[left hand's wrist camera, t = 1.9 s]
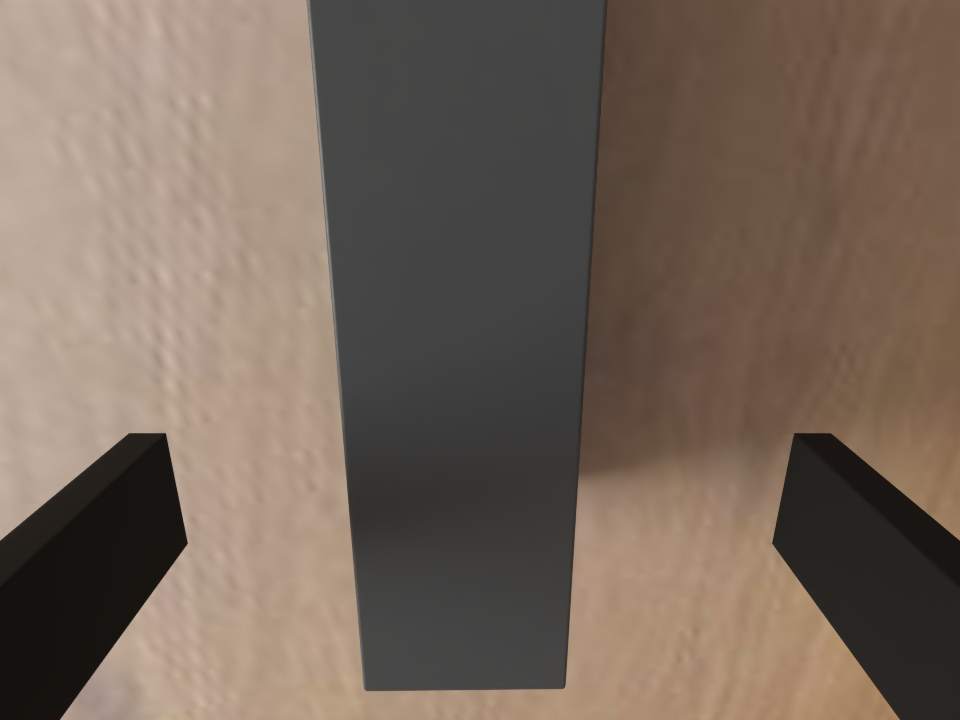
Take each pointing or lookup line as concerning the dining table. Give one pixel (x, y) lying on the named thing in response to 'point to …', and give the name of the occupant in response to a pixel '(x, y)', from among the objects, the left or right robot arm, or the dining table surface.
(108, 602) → the left robot arm
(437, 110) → the bar
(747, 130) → the dining table surface
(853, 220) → the dining table surface
